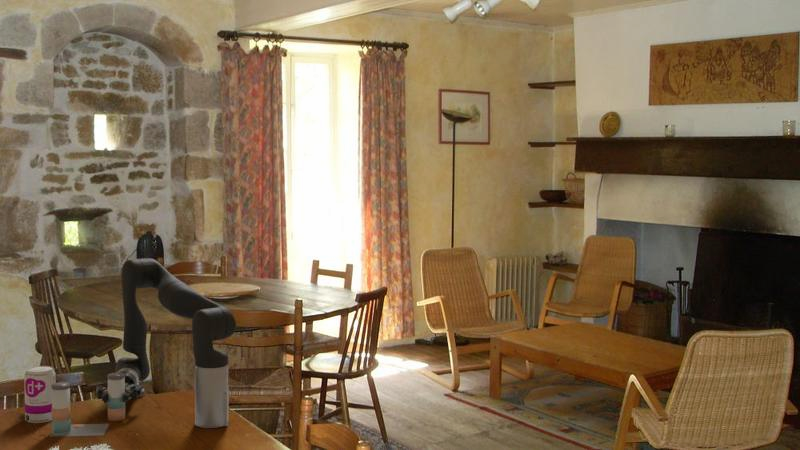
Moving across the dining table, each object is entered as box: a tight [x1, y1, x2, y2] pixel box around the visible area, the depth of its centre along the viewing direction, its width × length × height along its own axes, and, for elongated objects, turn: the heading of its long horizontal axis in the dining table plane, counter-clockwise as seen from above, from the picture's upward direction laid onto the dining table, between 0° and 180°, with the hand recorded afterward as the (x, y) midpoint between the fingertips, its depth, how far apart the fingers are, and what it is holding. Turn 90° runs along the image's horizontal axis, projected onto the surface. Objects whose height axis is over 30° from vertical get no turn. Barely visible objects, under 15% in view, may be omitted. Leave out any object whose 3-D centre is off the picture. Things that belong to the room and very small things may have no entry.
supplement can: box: [23, 365, 56, 424], centre depth 259 cm, size 8×8×15 cm
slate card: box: [48, 423, 110, 438], centre depth 251 cm, size 14×10×1 cm
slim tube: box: [107, 372, 126, 422], centre depth 261 cm, size 5×5×13 cm
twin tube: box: [51, 381, 72, 435], centre depth 247 cm, size 5×5×13 cm
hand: (114, 398), depth 258 cm, fingers closed on slim tube, 4 cm apart
